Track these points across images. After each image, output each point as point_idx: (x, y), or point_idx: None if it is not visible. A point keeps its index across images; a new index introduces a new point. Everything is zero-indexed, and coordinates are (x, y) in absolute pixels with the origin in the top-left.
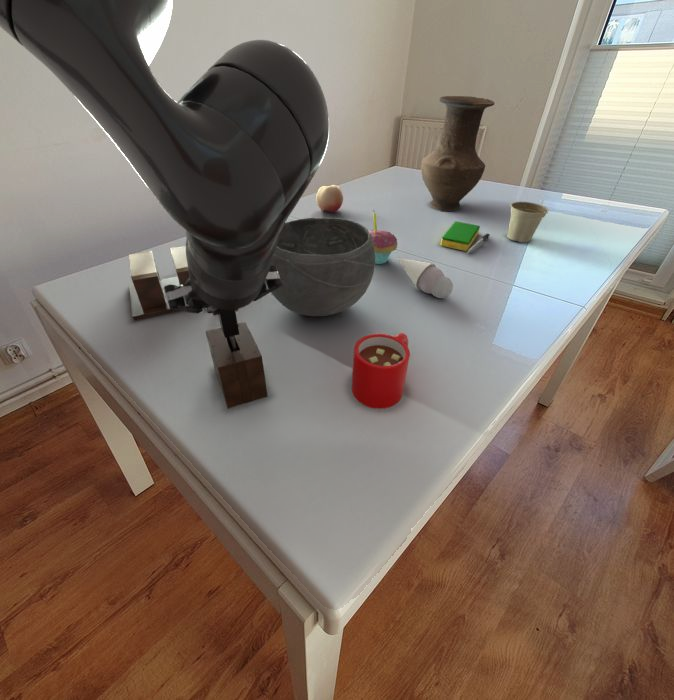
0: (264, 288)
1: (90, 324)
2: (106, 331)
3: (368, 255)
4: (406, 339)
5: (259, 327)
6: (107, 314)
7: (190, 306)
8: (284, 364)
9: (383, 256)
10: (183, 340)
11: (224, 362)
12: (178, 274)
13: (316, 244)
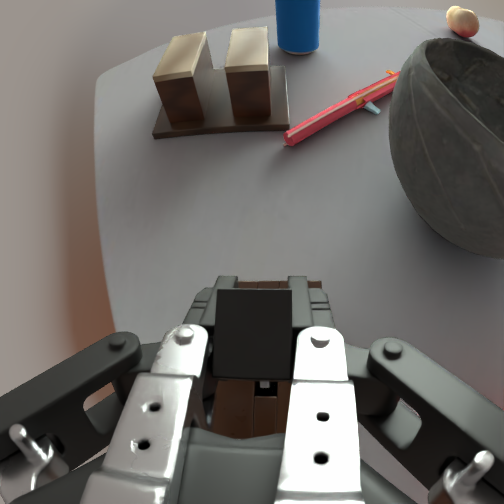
0: (432, 484)
1: (109, 135)
2: (118, 152)
3: None
4: None
5: (347, 217)
6: (132, 120)
7: (85, 457)
8: (366, 346)
9: None
10: (205, 204)
11: (227, 427)
12: (227, 76)
13: (481, 91)
